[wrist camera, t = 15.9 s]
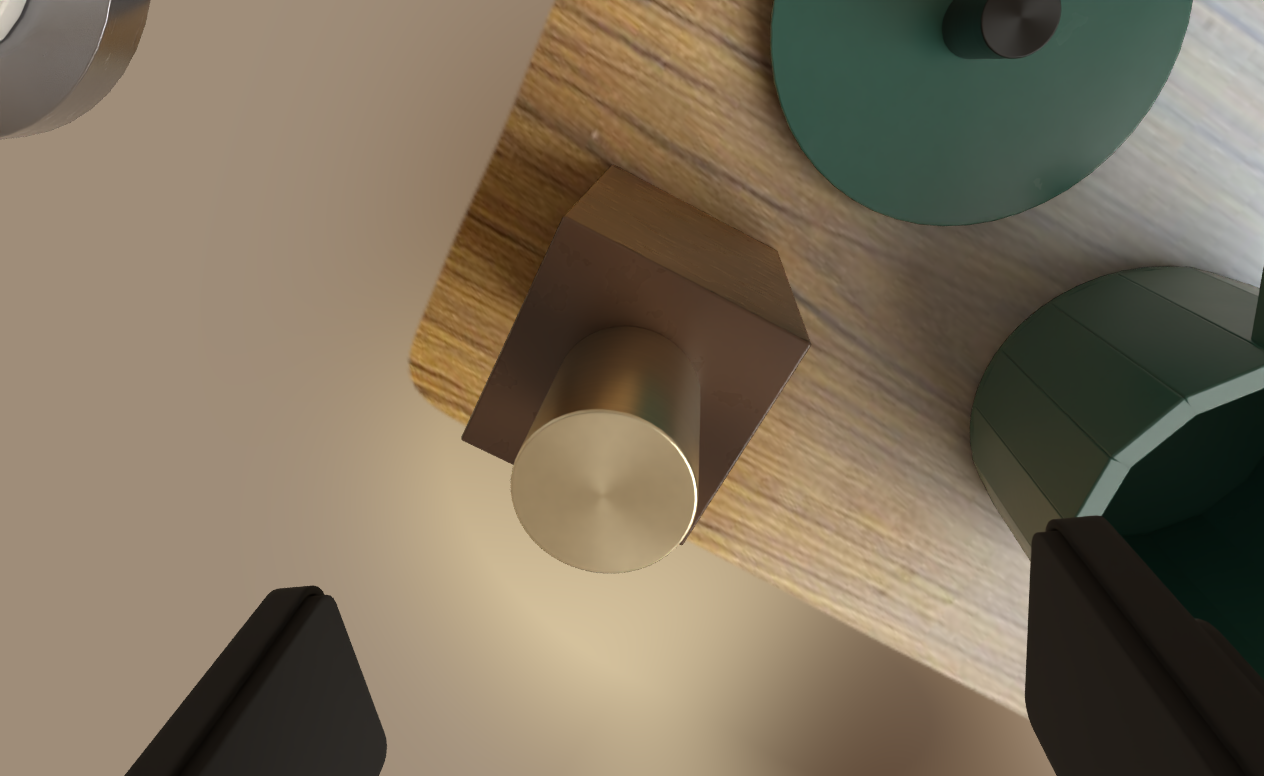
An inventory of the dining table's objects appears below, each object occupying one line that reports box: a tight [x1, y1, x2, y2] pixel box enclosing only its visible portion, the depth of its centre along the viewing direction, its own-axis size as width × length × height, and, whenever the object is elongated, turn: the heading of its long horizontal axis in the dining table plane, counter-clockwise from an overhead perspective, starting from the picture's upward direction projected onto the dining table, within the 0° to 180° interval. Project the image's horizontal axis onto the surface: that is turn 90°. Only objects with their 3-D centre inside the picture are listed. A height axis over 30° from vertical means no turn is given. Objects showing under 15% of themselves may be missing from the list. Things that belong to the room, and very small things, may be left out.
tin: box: [511, 326, 700, 573], centre depth 21 cm, size 4×4×6 cm
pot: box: [970, 266, 1264, 680], centre depth 30 cm, size 14×19×10 cm
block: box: [462, 165, 811, 545], centre depth 29 cm, size 8×8×12 cm
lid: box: [770, 0, 1193, 226], centre depth 27 cm, size 15×15×6 cm
